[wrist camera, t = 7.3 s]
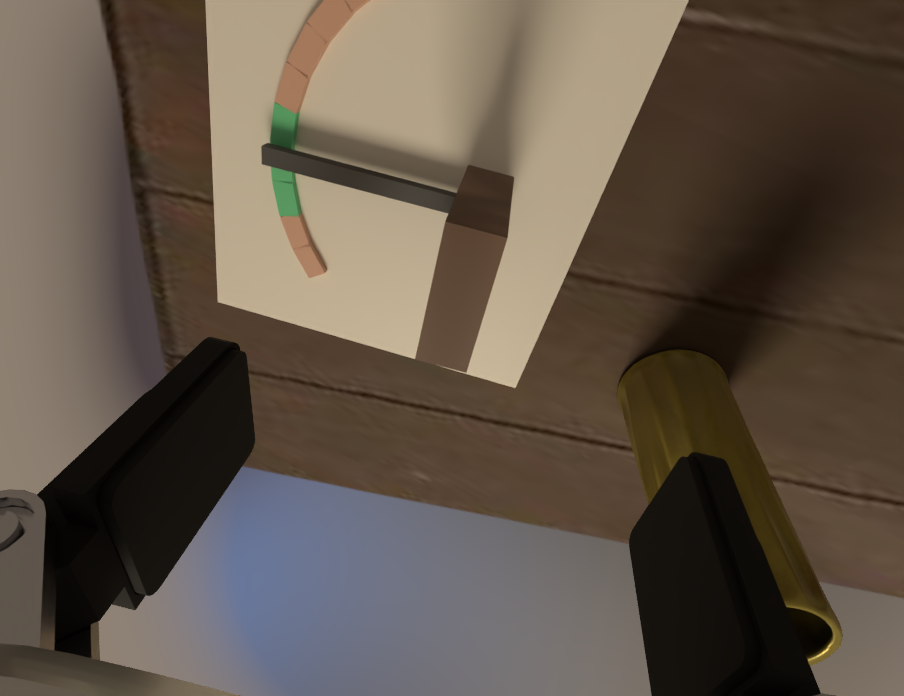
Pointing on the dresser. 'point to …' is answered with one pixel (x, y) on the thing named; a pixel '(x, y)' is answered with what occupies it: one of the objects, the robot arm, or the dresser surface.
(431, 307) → the tuner needle gauge
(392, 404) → the dresser surface
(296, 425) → the dresser surface
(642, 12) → the board
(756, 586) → the robot arm
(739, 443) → the vase
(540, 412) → the dresser surface
